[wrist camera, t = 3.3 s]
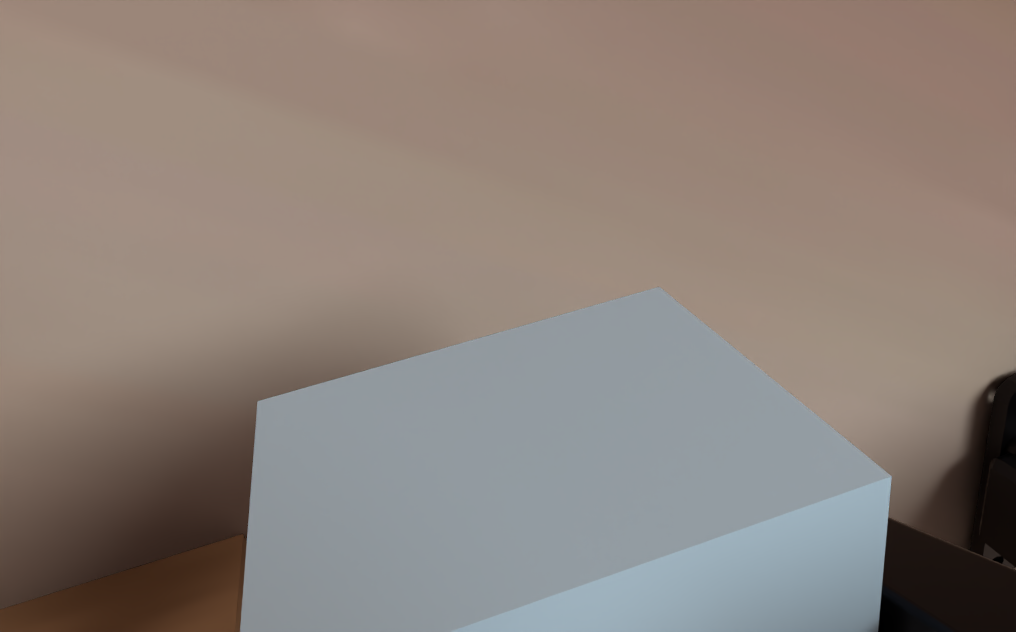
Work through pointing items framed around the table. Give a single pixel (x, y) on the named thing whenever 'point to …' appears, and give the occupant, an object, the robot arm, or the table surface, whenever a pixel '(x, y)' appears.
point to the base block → (147, 597)
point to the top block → (562, 491)
